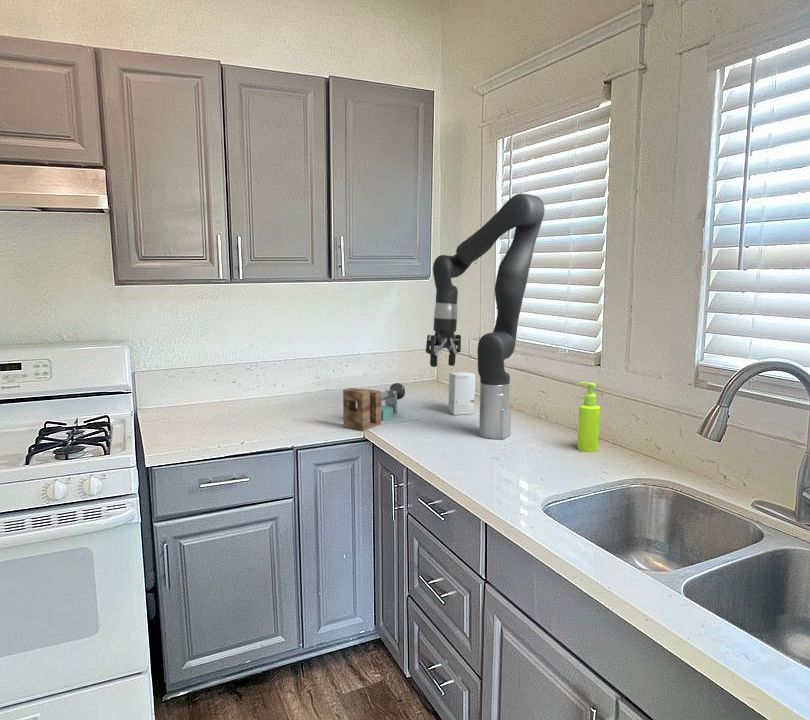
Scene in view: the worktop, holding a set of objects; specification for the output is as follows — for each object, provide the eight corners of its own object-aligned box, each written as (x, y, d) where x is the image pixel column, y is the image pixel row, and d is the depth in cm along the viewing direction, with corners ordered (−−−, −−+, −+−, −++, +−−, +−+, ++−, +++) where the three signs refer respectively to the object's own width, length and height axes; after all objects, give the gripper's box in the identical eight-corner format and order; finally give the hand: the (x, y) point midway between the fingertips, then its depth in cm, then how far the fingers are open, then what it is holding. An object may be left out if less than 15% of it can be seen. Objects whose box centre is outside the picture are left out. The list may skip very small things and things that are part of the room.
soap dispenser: (578, 444, 186) (581, 379, 182) (600, 448, 181) (604, 382, 178) (570, 448, 181) (573, 383, 178) (593, 453, 177) (596, 386, 174)
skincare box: (453, 415, 219) (454, 375, 217) (447, 411, 225) (448, 372, 222) (475, 413, 222) (475, 373, 219) (468, 410, 227) (469, 371, 225)
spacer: (393, 417, 217) (393, 407, 216) (383, 421, 212) (383, 410, 211) (381, 416, 220) (381, 405, 219) (371, 419, 215) (371, 408, 214)
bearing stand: (381, 424, 208) (380, 386, 206) (362, 431, 199) (362, 392, 197) (362, 420, 212) (362, 384, 210) (343, 427, 204) (343, 389, 202)
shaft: (405, 411, 222) (405, 383, 221) (372, 423, 205) (371, 394, 204) (391, 409, 226) (391, 382, 224) (357, 421, 208) (357, 392, 207)
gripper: (438, 317, 192) (435, 368, 194) (468, 318, 201) (465, 366, 203) (422, 316, 197) (419, 365, 199) (451, 316, 207) (449, 363, 209)
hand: (442, 366), depth 201 cm, fingers open, 8 cm apart
